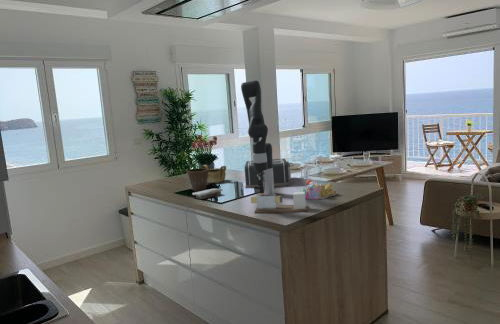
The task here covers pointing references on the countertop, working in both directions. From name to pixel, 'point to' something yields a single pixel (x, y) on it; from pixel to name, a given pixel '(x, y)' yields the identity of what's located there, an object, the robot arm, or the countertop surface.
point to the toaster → (279, 173)
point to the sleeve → (266, 202)
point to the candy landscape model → (318, 190)
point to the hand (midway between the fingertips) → (262, 192)
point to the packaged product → (207, 193)
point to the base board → (282, 209)
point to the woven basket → (215, 174)
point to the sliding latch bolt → (254, 200)
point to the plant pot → (198, 178)
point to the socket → (299, 200)
